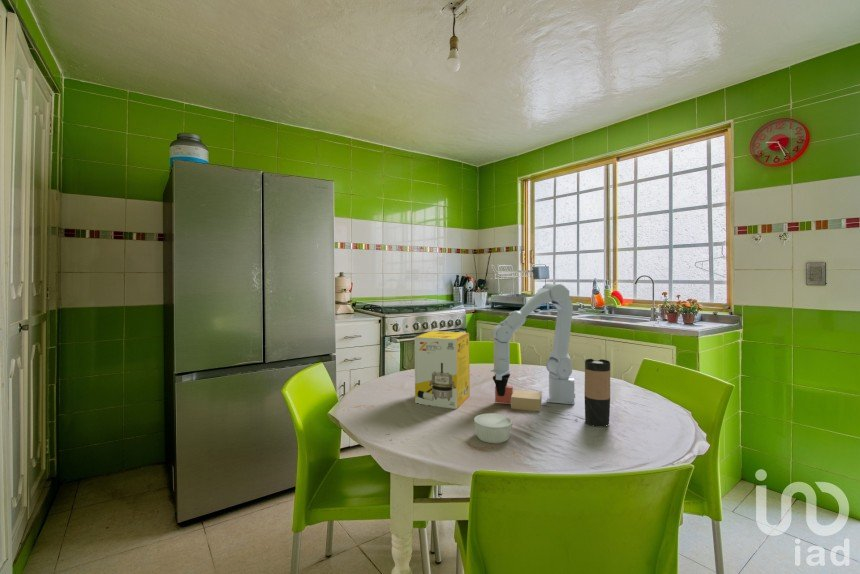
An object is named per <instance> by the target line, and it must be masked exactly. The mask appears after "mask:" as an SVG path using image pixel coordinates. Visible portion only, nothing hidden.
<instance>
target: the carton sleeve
mask: <svg viewBox="0 0 860 574" xmlns="http://www.w3.org/2000/svg"><path fill="white" fill-rule="evenodd" d="M542 395H543V393H542V391H532V390H531V391H530V390H520V389H513V394H512V396H511V404H510V409H512V410H519V411H521V410H524V411H531V412H532V411H533V412H541V408H542V404H543V403H542Z"/></svg>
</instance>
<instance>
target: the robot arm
mask: <svg viewBox="0 0 860 574" xmlns="http://www.w3.org/2000/svg"><path fill="white" fill-rule="evenodd" d="M546 303H551V305H553V306H554V307H555V308H556V310H557V313H556V320H555V328H554V329H555V330H554V337H553V338H554V339H553V346H552V347H553V348H552V351H550V353H549V356H548V358H547V361H546V363H545V367H546V370H547V371H548V395H547V403H555V404H565V405H575V399H576V393H575V378H574V377H571V376H572V373H573V367H572V364H571V363H572V359H571V357H570V354H569V345H570V344H569V343H570V335H571V328H572V322H573V321H572V319H573V311H574V304H573V301H572V299H571V295H570V290H569V289H568V288H567V287H566V286H565V285H564V284H561V283H560V284H556V283H555V284H553V283H545V284H544V285H543V286H542V287H541V288H539V289H538V290H537V291H536V293H535V294H534V295H533V296H532V297H531V298H530V299H529V300H527V302H526V303H525V304H524V305H523V306H522V307H521V308H520V309H519V310H514V311H510V312H509V313H508V316H507V317H506V318H505V319H504V320H503V321H502V320H501V321H500V322H499V324H498V325H497V324H496V325H495V326H494V327H493V329H492V331H491V336H492V338H493V368H490V372H492V373H494V375H493V376H492V380H493V382H494V385H495V386H496V388H497V393H498V396H504V394H505V387H506V386H508V381H509V379H510V376H511V369H510V341H511V340H512V338H513V335H514V333H516V331H517V330H518V329H520V328H521V327H522V326H523V325H524V324H525V323H526V321H527V317H528V316H529V315H531V314H532V312H533V311H535V310H536V309H537V308H538V307H540V306H541V305H543V304H546Z"/></svg>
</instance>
